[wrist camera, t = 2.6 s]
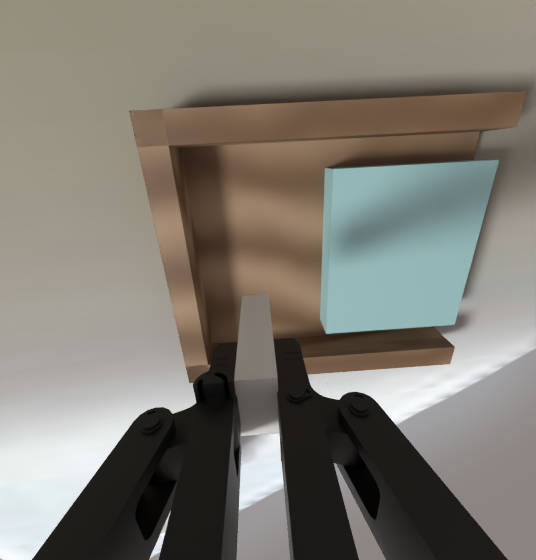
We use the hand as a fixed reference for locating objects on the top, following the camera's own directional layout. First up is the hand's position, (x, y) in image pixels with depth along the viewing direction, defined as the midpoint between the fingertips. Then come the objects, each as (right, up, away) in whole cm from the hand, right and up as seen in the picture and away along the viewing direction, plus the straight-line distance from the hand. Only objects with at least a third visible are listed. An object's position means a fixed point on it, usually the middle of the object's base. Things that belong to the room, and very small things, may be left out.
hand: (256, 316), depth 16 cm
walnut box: (+5, +5, +9) cm, 12 cm away
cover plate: (+11, +5, +9) cm, 15 cm away
